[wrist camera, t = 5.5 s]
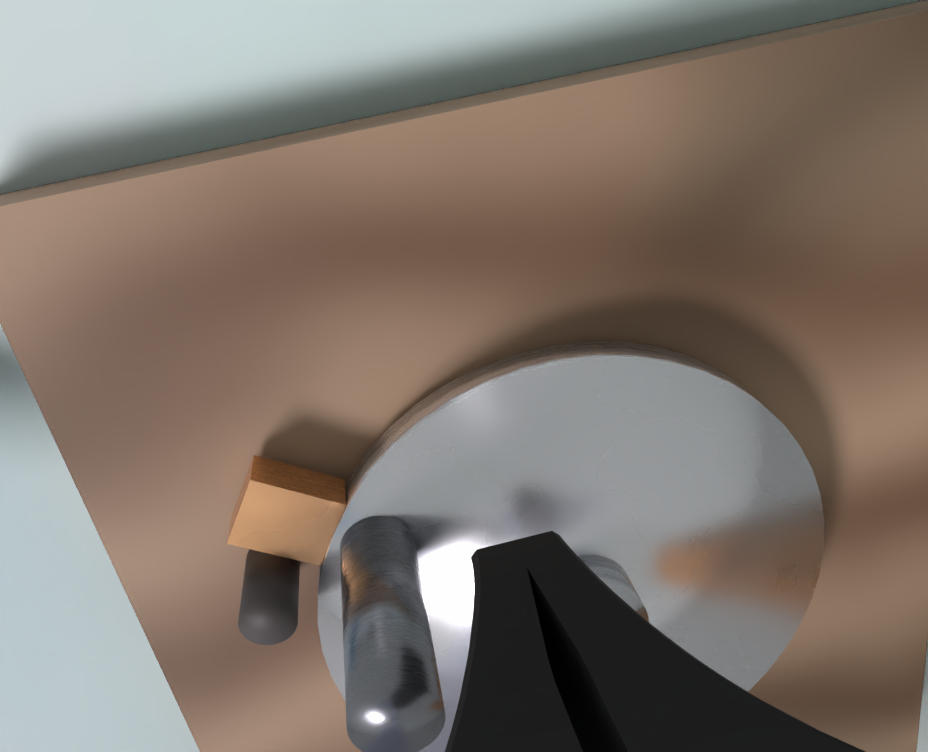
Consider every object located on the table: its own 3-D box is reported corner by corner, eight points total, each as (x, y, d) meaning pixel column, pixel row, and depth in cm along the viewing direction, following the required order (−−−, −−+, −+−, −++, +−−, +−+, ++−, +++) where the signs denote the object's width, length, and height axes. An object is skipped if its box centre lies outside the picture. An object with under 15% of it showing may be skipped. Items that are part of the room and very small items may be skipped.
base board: (885, 721, 27) (962, 819, 24) (287, 884, 26) (282, 1013, 22) (939, -3, 17) (1081, -3, 14) (-18, 198, 16) (-105, 249, 13)
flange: (893, 431, 20) (1096, 583, 14) (659, 779, 24) (754, 996, 18) (338, 226, 15) (346, 339, 10) (166, 692, 19) (112, 940, 14)
